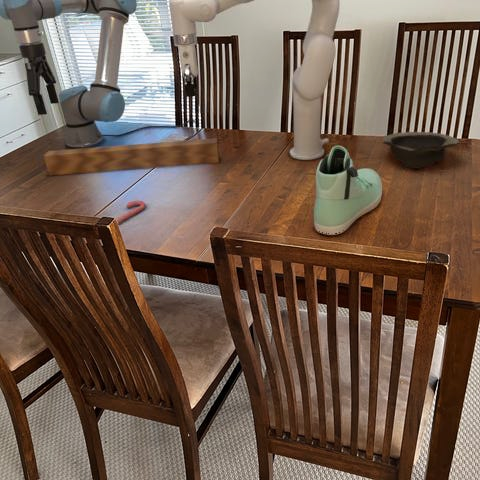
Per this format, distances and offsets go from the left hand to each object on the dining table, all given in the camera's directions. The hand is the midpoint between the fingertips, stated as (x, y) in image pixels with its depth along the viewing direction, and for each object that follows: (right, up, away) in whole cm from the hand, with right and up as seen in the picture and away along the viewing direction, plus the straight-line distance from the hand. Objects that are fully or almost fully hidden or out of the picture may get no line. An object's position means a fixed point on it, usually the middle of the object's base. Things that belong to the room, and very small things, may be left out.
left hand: (49, 108), depth 166 cm
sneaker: (+98, -36, -27) cm, 108 cm away
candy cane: (+32, -38, -21) cm, 54 cm away
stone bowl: (+127, -17, 0) cm, 129 cm away
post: (+27, -18, +12) cm, 35 cm away
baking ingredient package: (+38, -5, +32) cm, 50 cm away
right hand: (+50, +5, -1) cm, 50 cm away
